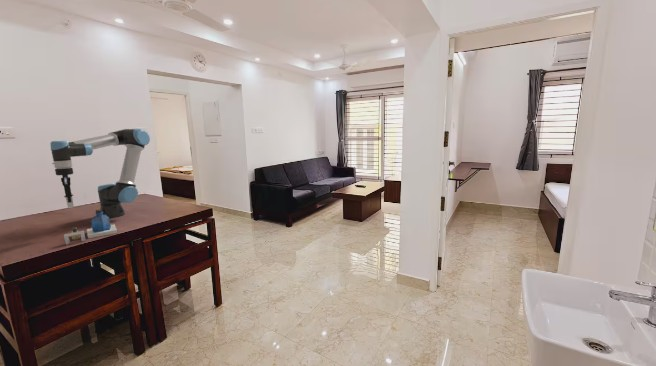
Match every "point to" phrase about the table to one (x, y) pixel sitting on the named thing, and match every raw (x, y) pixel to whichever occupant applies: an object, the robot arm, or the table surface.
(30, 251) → the table surface
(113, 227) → the socket
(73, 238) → the lock bar
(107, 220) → the perfume bottle
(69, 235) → the keeper
